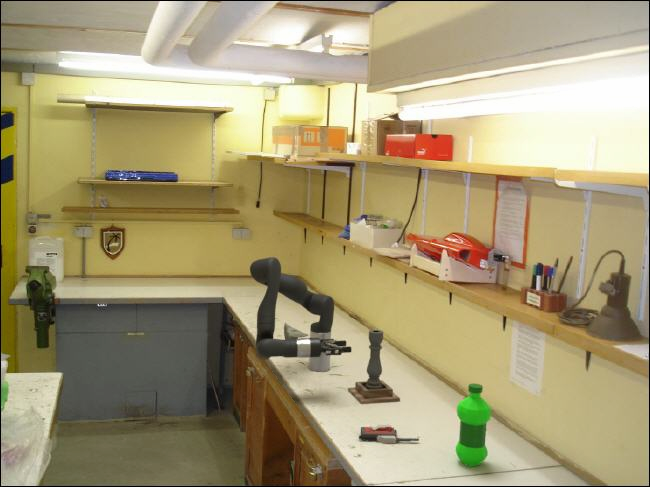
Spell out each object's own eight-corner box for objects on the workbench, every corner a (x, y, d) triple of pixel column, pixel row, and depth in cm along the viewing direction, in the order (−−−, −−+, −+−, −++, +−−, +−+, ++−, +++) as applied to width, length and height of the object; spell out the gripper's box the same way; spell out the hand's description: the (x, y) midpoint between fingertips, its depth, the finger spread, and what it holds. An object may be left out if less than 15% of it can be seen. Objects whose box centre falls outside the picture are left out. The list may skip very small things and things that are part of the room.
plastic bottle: (455, 454, 236) (460, 378, 233) (489, 459, 233) (494, 383, 230) (451, 466, 226) (456, 388, 223) (486, 471, 223) (491, 392, 220)
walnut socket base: (348, 390, 295) (348, 380, 295) (385, 388, 300) (385, 378, 299) (361, 403, 280) (361, 393, 280) (399, 401, 285) (400, 390, 284)
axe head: (274, 342, 366) (274, 322, 365) (292, 341, 370) (293, 321, 368) (290, 356, 341) (291, 335, 340) (309, 355, 344) (310, 334, 343)
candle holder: (371, 389, 294) (374, 328, 291) (384, 393, 290) (387, 331, 287) (362, 393, 289) (365, 331, 286) (375, 396, 285) (377, 334, 282)
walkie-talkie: (359, 444, 242) (419, 445, 243) (359, 431, 241) (419, 432, 242) (356, 434, 251) (414, 435, 252) (357, 421, 250) (415, 422, 251)
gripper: (311, 343, 274) (353, 341, 278) (304, 333, 288) (344, 332, 292) (311, 362, 275) (352, 361, 279) (304, 351, 289) (344, 350, 293)
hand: (348, 346), depth 285 cm, fingers open, 8 cm apart
